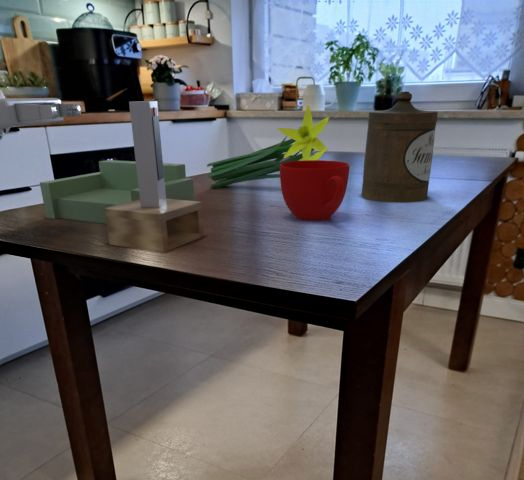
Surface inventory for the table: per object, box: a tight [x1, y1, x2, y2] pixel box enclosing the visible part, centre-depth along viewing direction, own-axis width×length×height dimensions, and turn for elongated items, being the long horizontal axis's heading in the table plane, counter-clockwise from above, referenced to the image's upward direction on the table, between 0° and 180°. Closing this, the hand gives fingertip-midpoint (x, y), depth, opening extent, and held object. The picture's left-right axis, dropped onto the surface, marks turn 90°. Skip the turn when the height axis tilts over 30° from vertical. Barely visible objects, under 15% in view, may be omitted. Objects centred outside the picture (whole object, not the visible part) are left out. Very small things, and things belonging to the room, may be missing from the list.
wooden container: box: [361, 91, 438, 203], centre depth 115 cm, size 15×15×22 cm
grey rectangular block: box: [128, 100, 166, 208], centre depth 80 cm, size 3×4×15 cm
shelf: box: [104, 199, 204, 253], centre depth 84 cm, size 11×11×6 cm
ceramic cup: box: [279, 159, 350, 222], centre depth 97 cm, size 13×17×10 cm
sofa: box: [39, 159, 196, 224], centre depth 102 cm, size 25×17×10 cm
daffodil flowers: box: [206, 105, 330, 190], centre depth 127 cm, size 17×15×35 cm
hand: (67, 111), depth 78 cm, fingers open, 8 cm apart
